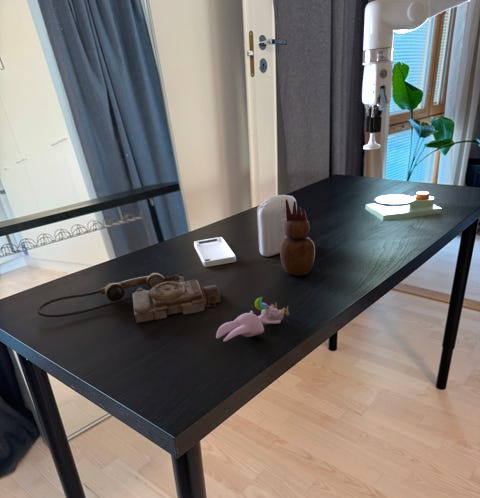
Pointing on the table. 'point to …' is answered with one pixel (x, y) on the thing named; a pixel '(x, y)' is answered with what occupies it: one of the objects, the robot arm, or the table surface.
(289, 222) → the wooden figurine
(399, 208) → the scale
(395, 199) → the pan
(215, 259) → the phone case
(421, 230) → the table surface
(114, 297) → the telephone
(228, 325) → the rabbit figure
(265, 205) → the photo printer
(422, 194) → the tare button
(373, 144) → the chess piece
